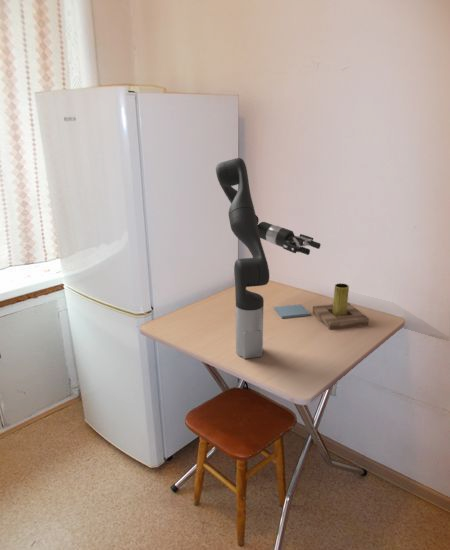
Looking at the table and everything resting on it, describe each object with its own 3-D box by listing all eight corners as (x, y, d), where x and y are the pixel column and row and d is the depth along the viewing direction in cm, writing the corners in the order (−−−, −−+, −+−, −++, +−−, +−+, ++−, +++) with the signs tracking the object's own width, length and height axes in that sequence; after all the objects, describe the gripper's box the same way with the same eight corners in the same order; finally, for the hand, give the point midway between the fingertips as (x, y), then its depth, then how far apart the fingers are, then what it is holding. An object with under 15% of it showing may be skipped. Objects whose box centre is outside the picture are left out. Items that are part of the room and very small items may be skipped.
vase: (349, 318, 170) (352, 285, 165) (342, 323, 165) (345, 289, 161) (336, 314, 173) (338, 281, 169) (328, 319, 169) (330, 285, 165)
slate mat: (309, 315, 173) (310, 313, 173) (282, 318, 171) (282, 316, 170) (300, 306, 182) (300, 304, 182) (274, 309, 180) (274, 306, 180)
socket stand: (368, 325, 164) (368, 318, 163) (329, 329, 160) (330, 322, 159) (348, 309, 178) (348, 302, 177) (312, 313, 175) (312, 306, 174)
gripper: (271, 232, 167) (307, 245, 158) (290, 223, 177) (325, 235, 168) (268, 249, 170) (304, 263, 162) (287, 240, 180) (321, 252, 172)
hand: (314, 249), depth 165 cm, fingers open, 8 cm apart
